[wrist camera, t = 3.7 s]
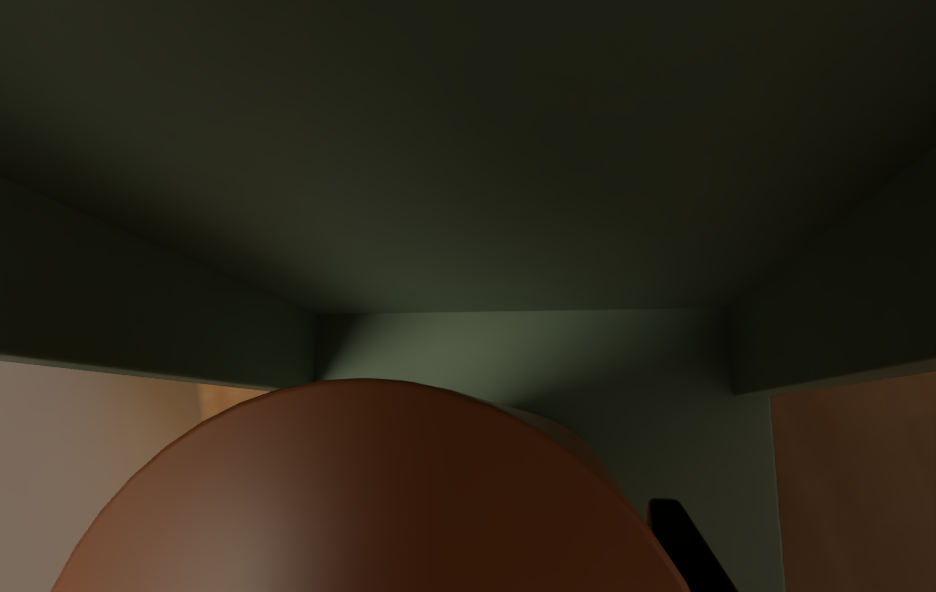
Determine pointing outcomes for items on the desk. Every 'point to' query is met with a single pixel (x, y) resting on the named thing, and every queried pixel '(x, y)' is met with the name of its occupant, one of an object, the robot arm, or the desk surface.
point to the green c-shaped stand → (487, 212)
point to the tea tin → (371, 503)
